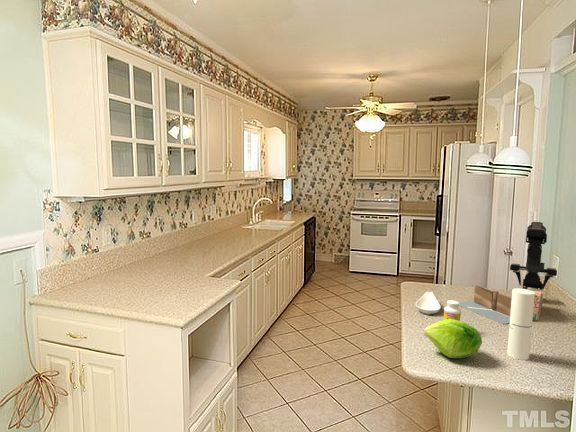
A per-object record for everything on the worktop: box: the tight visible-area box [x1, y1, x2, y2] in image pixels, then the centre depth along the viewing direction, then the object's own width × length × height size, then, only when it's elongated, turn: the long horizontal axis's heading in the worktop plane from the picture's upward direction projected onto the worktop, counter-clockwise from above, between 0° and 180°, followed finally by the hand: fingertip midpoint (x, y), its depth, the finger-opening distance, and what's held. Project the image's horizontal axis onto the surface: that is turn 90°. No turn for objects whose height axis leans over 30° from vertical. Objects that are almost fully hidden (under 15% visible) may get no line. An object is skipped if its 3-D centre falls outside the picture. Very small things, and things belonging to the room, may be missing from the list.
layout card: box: [458, 300, 510, 325], centre depth 192 cm, size 16×29×1 cm, turn 20°
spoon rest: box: [415, 290, 442, 315], centre depth 196 cm, size 24×12×7 cm, turn 159°
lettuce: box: [423, 319, 483, 359], centre depth 145 cm, size 15×20×14 cm
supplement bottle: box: [443, 299, 462, 321], centre depth 168 cm, size 7×7×13 cm
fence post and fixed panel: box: [492, 290, 512, 317], centre depth 187 cm, size 2×15×10 cm, turn 20°
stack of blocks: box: [527, 287, 544, 321], centre depth 190 cm, size 21×6×12 cm, turn 143°
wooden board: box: [473, 285, 494, 308], centre depth 199 cm, size 2×11×8 cm, turn 20°
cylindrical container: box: [506, 287, 535, 361], centre depth 144 cm, size 7×7×25 cm
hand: (531, 287), depth 184 cm, fingers open, 9 cm apart
